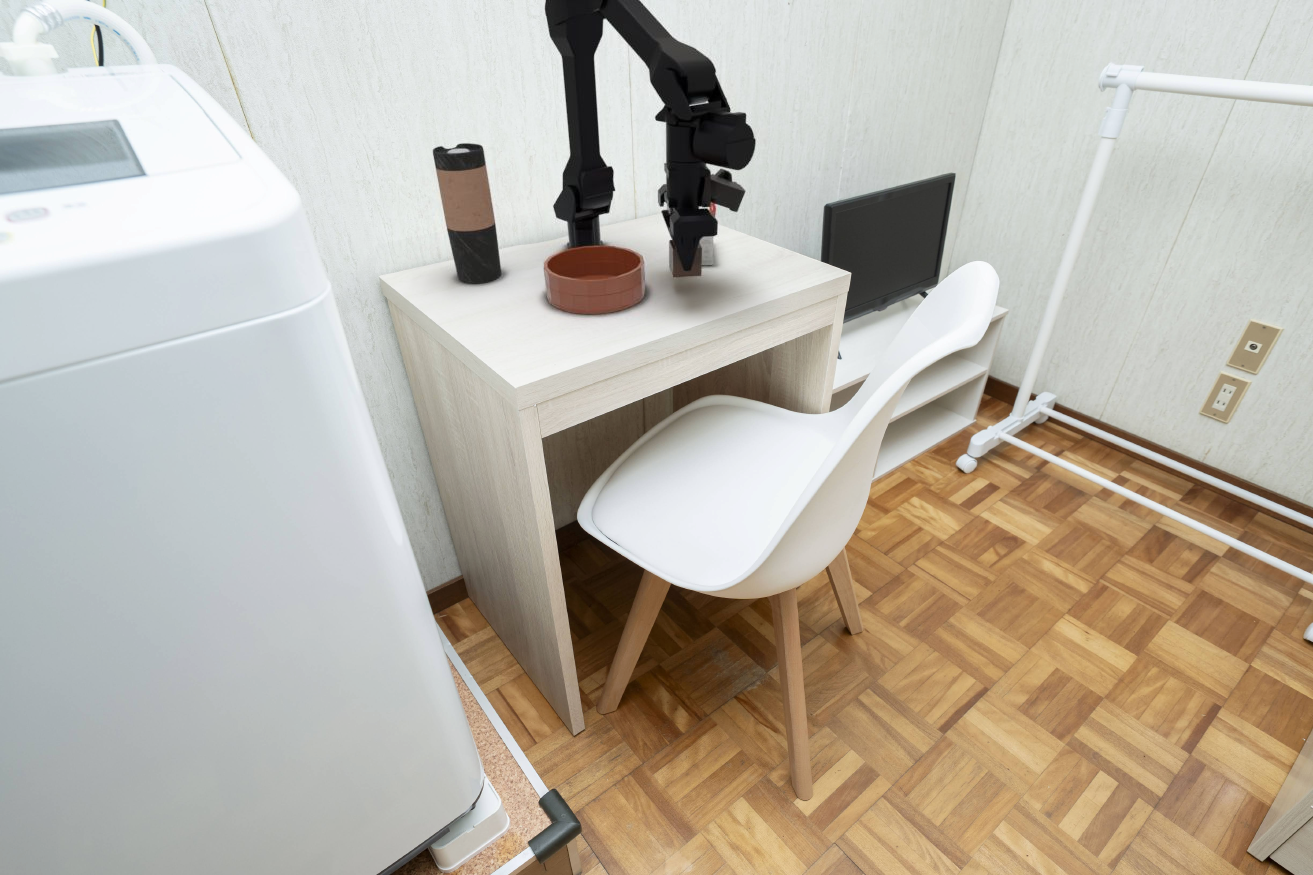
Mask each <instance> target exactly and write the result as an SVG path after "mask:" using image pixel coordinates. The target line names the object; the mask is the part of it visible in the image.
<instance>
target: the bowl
mask: <svg viewBox="0 0 1313 875" xmlns="http://www.w3.org/2000/svg"><path fill="white" fill-rule="evenodd" d="M645 266H646V265H645V259H644V256H643V255H642V254H640V253H639V252H638V251H635V250H633V249H630V248H628V247H627V248H626V247H621V246H615V245H603V246H602V245H597V246H583V247H577V248H571V249H567V248H566V249H565V250H560V251H558V252H556V253H554V254H552V255H550V256H548V257H547V258H546V260H544V261H543V274H544V283H545V284H544V285H545V292H546V298H547V301H548V303H549V304H550V305H551V306H552V307H554V308H556V309H557V310H560V311H564V312H568V313H572V314H579V315H602V314H610V313H615V312H620V311H624V310H626V309H629V308H631V307H633V306H635V305H637V304H638V303H639V302H641V301H642V300H643V299H644V298H645V294H646V278H645V277H646V269H645Z"/></svg>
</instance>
